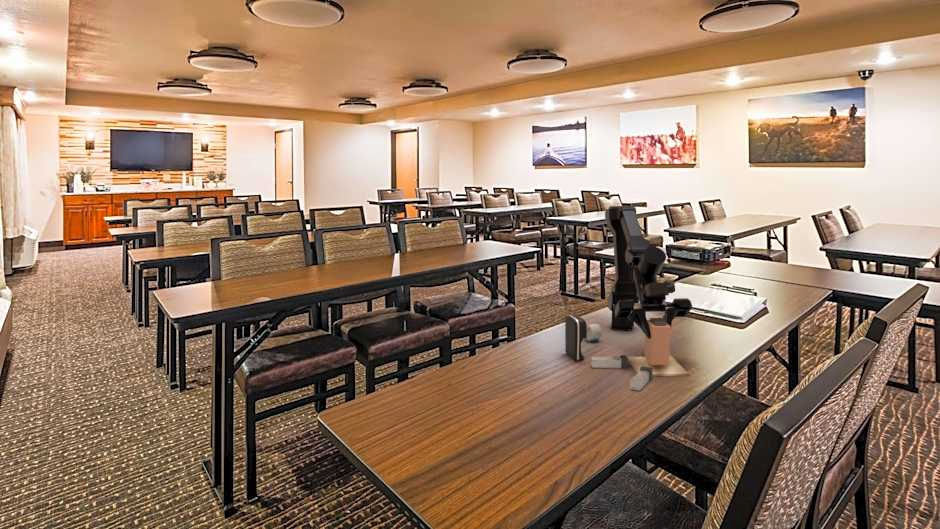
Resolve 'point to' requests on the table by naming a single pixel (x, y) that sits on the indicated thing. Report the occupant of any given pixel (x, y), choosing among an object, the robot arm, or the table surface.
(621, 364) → the shaft side
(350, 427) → the table surface
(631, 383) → the shaft front
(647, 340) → the peach upright block
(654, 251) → the robot arm
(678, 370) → the pad
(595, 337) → the electric motor
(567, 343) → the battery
